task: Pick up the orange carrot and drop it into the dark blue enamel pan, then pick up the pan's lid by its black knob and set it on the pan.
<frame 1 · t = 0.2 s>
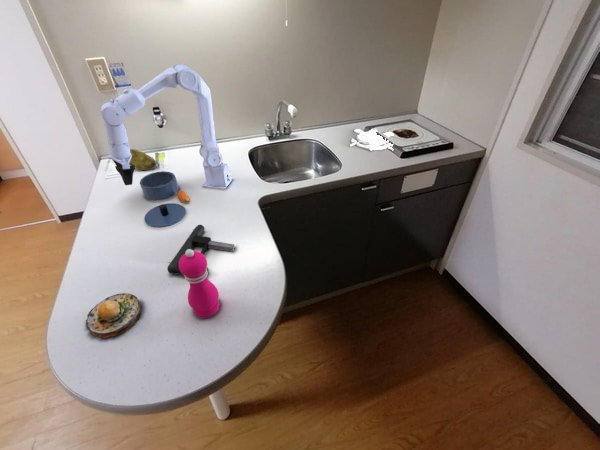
hand: (126, 179, 107), 11 cm above the worktop, tool pointing down, fingers open, 7 cm apart
pepper mill: (207, 308, 78), on the worktop
lid: (165, 215, 107), point 1 cm above the worktop
carrot: (184, 199, 116), on the worktop
pot: (162, 192, 120), on the worktop
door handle: (205, 254, 93), on the worktop
potato: (142, 168, 136), on the worktop
pendant: (372, 140, 159), on the worktop
burger: (116, 317, 76), on the worktop
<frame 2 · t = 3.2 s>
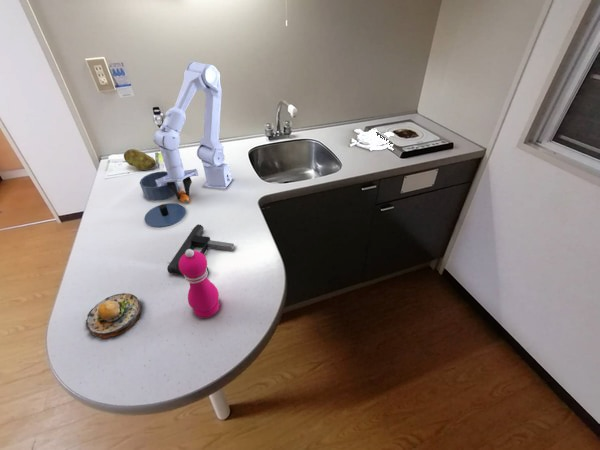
hand: (183, 196, 115), 1 cm above the worktop, tool pointing down, fingers closed on carrot, 3 cm apart
carrot: (184, 199, 116), on the worktop, touching gripper
everything else where it was.
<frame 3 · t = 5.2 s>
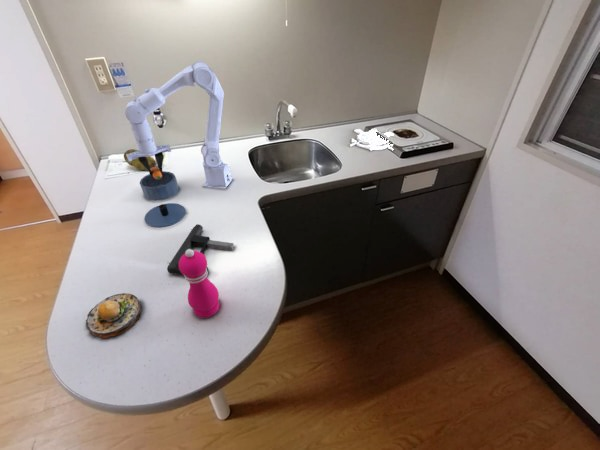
hand: (156, 173, 114), 9 cm above the worktop, tool pointing down, fingers closed on carrot, 3 cm apart
carrot: (157, 176, 115), point 7 cm above the worktop, touching gripper
everything else where it was.
when the fingers open (2 cm above the worktop, at t = 7.4 s): carrot stays where it is, resting on pot.
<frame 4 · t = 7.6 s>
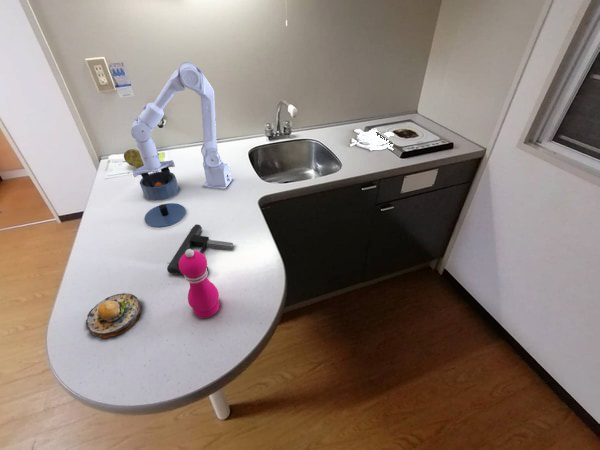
hand: (160, 187, 119), 2 cm above the worktop, tool pointing down, fingers open, 4 cm apart
carrot: (161, 191, 120), point 1 cm above the worktop, tilted 6°, touching pot
everything else where it was.
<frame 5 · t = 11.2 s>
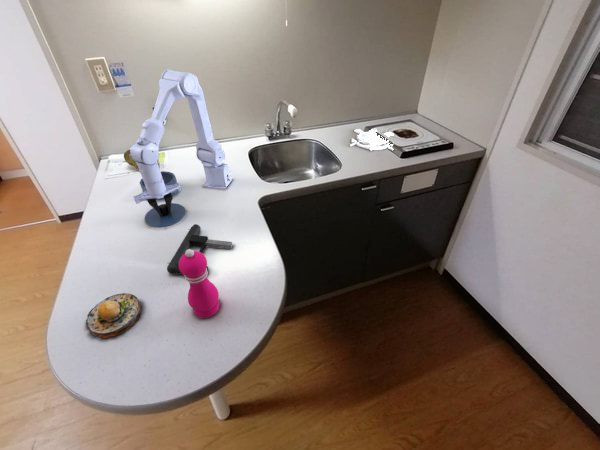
hand: (164, 213, 107), 1 cm above the worktop, tool pointing down, fingers closed on lid, 2 cm apart
lid: (165, 215, 107), point 1 cm above the worktop, touching gripper
carrot: (156, 188, 118), point 2 cm above the worktop, tilted 106°, touching pot
everything else where it was.
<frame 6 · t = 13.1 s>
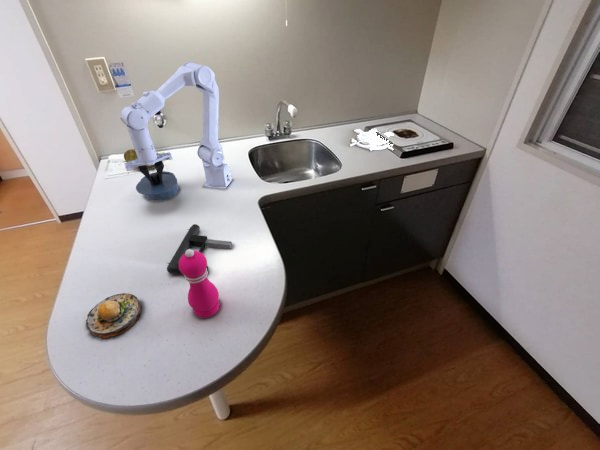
hand: (156, 182, 107), 10 cm above the worktop, tool pointing down, fingers closed on lid, 2 cm apart
lid: (157, 184, 107), point 9 cm above the worktop, touching gripper
everything else where it was.
when the fingers open (7 cm above the worktop, at t = 15.2 s): lid stays where it is, resting on pot.
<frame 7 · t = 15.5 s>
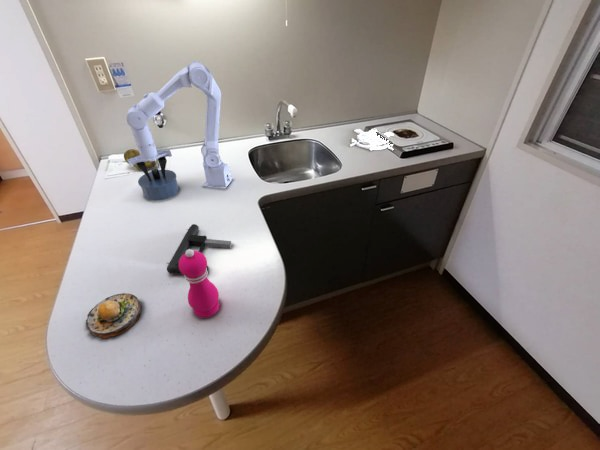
hand: (157, 177, 116), 7 cm above the worktop, tool pointing down, fingers open, 4 cm apart
lid: (157, 179, 116), point 6 cm above the worktop, touching pot
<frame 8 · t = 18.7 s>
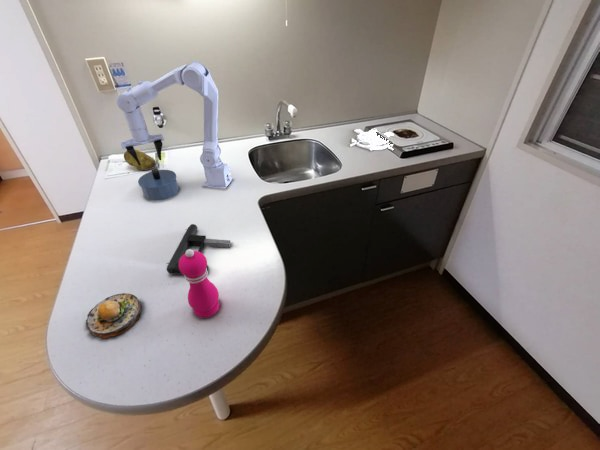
hand: (149, 161, 118), 10 cm above the worktop, tool pointing down, fingers open, 7 cm apart
at the end: carrot inside the target area in the pot (1.1 cm from its centre), point 2.3 cm above the pot's base; lid 0.0 cm off-centre on the pot, point 6.0 cm above the pot's base; lid tilted 0° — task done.
